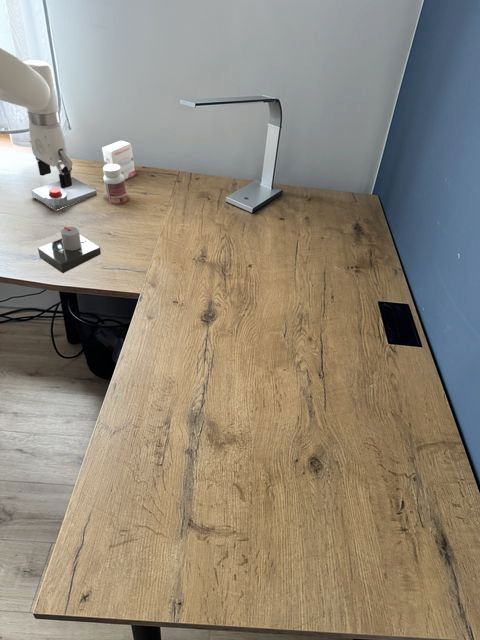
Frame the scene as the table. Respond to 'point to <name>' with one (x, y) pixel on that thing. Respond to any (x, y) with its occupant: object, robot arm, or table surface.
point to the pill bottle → (114, 184)
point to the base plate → (68, 254)
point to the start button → (55, 192)
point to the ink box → (120, 157)
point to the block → (64, 194)
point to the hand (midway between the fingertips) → (56, 180)
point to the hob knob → (71, 238)
